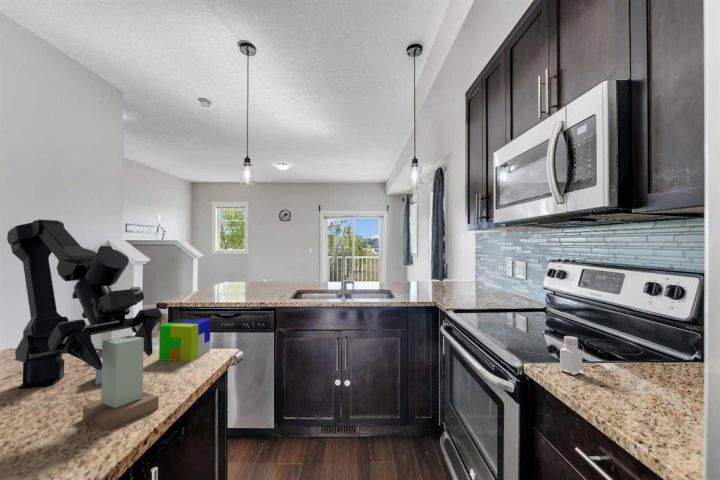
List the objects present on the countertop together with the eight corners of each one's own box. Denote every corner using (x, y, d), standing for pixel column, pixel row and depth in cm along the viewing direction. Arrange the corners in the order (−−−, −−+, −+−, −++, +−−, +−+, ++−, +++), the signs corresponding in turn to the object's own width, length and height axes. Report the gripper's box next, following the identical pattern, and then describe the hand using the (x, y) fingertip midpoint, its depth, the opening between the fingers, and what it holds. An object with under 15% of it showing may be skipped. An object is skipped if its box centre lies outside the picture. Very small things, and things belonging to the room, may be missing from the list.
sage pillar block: (101, 403, 66) (102, 341, 66) (128, 393, 70) (129, 335, 71) (115, 408, 64) (116, 343, 64) (142, 398, 68) (143, 338, 69)
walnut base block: (82, 421, 65) (83, 406, 65) (131, 402, 73) (131, 388, 73) (110, 433, 61) (110, 416, 61) (158, 411, 69) (158, 396, 69)
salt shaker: (573, 376, 88) (573, 340, 89) (559, 371, 92) (559, 336, 92) (583, 374, 90) (583, 338, 90) (568, 369, 94) (568, 335, 94)
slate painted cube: (95, 384, 81) (96, 363, 81) (95, 378, 85) (96, 358, 85) (120, 380, 84) (121, 359, 84) (119, 374, 88) (120, 354, 88)
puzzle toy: (209, 350, 108) (210, 319, 108) (191, 361, 98) (191, 326, 98) (180, 349, 109) (181, 318, 109) (159, 359, 99) (159, 325, 99)
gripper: (57, 278, 61) (87, 349, 56) (158, 272, 78) (189, 325, 72) (36, 317, 64) (62, 387, 59) (137, 303, 81) (165, 357, 76)
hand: (127, 361), depth 66 cm, fingers open, 9 cm apart
